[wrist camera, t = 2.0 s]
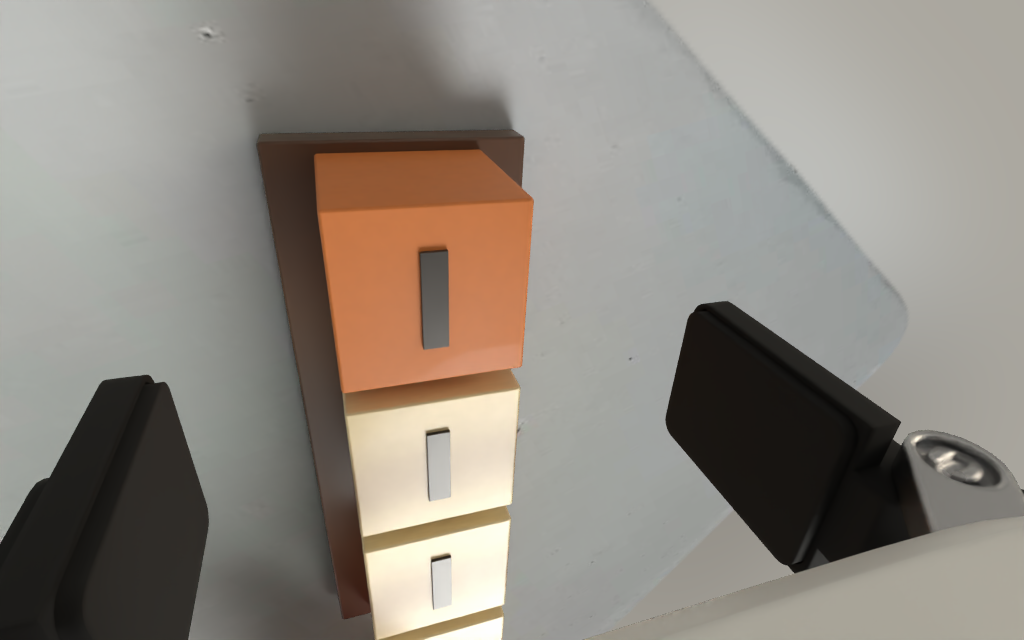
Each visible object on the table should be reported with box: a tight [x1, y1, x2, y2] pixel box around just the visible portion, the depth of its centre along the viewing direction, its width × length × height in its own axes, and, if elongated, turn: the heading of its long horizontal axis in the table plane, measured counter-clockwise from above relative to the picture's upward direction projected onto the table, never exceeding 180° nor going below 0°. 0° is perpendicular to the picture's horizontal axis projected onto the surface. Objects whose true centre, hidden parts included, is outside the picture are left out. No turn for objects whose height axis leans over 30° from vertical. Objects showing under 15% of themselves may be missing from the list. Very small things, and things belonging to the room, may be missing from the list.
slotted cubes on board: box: [257, 130, 524, 640], centre depth 18 cm, size 20×7×6 cm, turn 177°
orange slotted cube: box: [314, 149, 534, 393], centre depth 14 cm, size 4×4×4 cm
